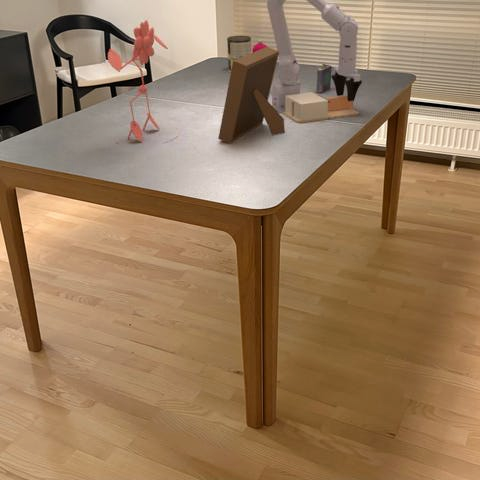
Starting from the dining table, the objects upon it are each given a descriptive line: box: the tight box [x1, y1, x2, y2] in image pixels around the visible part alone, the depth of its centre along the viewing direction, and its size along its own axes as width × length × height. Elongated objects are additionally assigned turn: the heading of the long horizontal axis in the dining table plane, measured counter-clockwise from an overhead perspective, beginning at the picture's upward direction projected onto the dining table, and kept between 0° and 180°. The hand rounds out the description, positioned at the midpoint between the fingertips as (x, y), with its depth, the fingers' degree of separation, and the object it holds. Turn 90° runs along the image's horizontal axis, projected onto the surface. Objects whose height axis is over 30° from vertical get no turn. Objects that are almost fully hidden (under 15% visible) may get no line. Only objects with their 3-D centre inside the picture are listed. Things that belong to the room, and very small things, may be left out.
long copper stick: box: [324, 95, 354, 111], centre depth 211 cm, size 20×1×4 cm, turn 111°
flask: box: [316, 62, 333, 94], centre depth 237 cm, size 9×3×11 cm, turn 146°
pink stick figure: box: [107, 19, 179, 145], centre depth 186 cm, size 15×26×35 cm, turn 156°
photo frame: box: [218, 46, 286, 144], centre depth 188 cm, size 15×22×25 cm
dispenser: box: [282, 91, 359, 124], centre depth 211 cm, size 23×12×6 cm, turn 111°
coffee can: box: [226, 35, 252, 73], centre depth 268 cm, size 10×10×14 cm
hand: (345, 98), depth 213 cm, fingers open, 7 cm apart
